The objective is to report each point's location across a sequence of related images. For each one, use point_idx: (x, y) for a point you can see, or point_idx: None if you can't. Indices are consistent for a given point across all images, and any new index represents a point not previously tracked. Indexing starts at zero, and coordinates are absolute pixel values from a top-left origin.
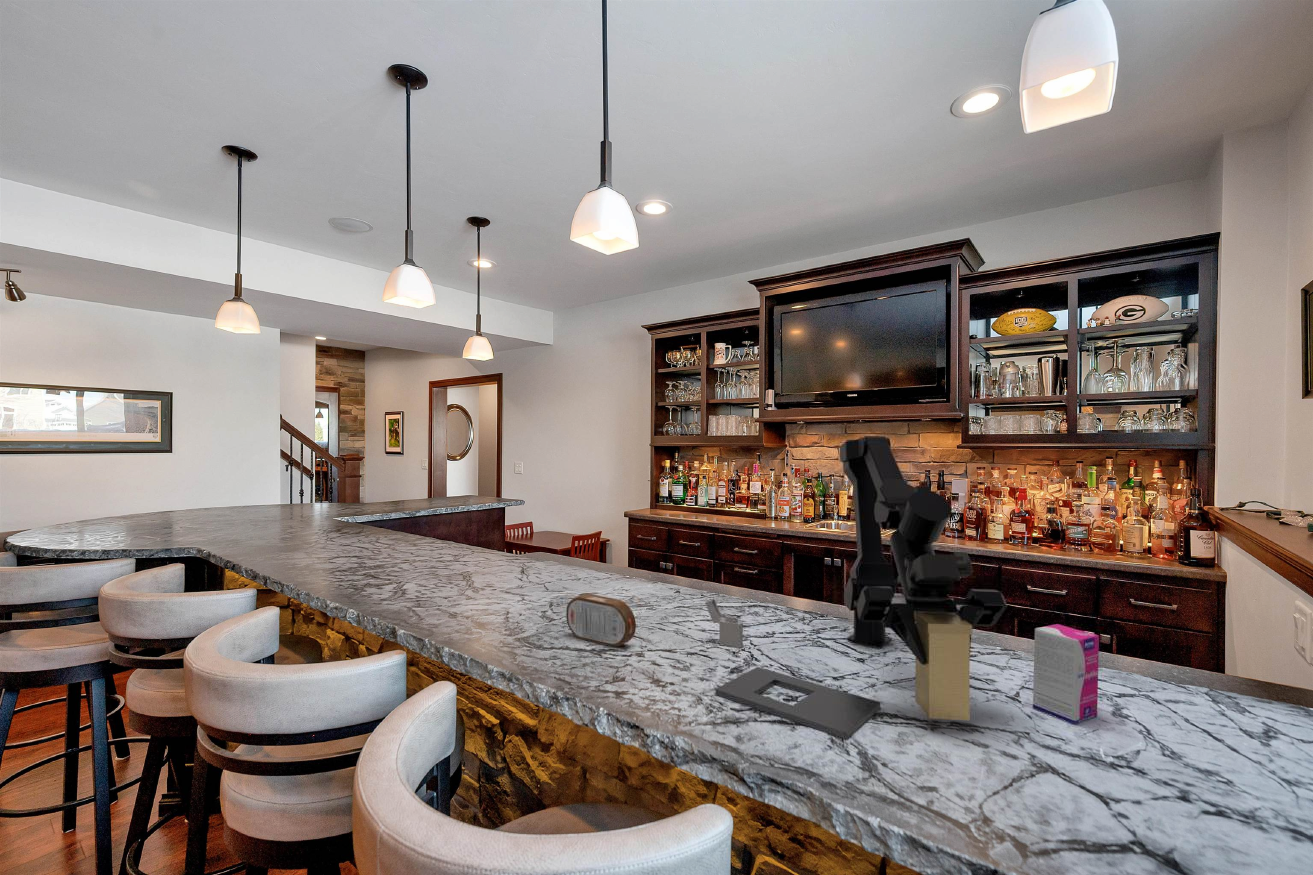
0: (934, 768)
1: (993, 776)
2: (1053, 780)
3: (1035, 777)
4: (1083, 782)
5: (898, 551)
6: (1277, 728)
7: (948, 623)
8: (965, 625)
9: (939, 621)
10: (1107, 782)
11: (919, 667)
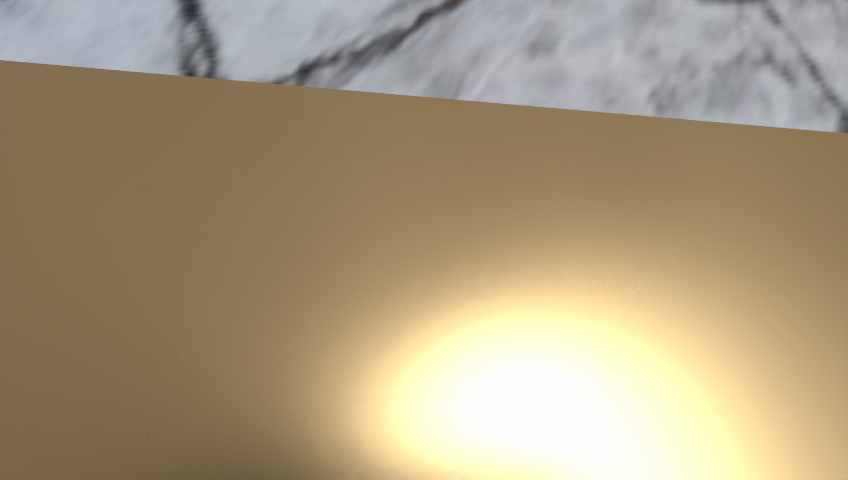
0: (653, 105)
1: (454, 60)
2: (256, 42)
3: (305, 57)
4: (163, 34)
5: None
6: None
7: (416, 161)
8: (80, 83)
9: (565, 342)
10: (82, 36)
11: None
